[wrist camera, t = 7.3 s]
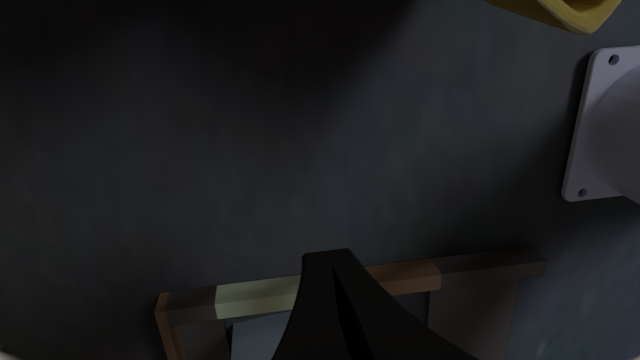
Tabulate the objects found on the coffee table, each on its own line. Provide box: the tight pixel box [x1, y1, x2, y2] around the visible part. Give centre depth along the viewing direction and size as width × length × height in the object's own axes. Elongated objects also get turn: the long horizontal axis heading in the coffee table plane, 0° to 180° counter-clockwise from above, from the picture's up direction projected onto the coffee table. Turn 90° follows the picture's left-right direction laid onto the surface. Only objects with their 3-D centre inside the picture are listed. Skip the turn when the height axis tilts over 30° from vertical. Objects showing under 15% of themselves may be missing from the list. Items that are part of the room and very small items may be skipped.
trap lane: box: [154, 246, 547, 360], centre depth 26 cm, size 21×11×2 cm, turn 93°
